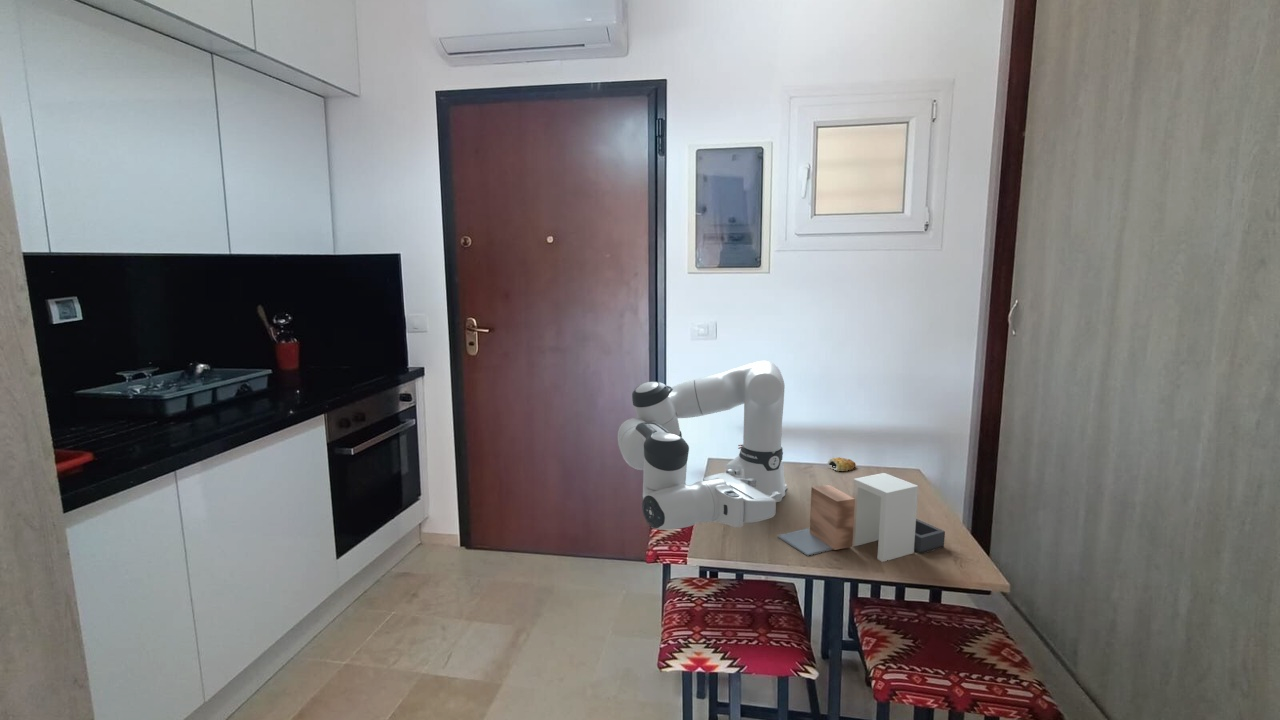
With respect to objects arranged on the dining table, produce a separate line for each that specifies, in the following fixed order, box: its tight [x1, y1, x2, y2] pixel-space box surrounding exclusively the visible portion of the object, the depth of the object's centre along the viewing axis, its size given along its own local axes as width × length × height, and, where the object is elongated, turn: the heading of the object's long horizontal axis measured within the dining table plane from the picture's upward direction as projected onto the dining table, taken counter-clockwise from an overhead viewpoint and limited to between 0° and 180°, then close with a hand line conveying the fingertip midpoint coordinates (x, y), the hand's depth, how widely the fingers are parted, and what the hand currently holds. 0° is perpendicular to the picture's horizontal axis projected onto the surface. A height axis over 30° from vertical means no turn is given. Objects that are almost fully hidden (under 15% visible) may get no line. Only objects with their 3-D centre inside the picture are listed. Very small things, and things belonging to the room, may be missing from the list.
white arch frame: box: [852, 472, 919, 563], centre depth 141 cm, size 10×10×16 cm
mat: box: [777, 527, 834, 557], centre depth 145 cm, size 11×11×1 cm
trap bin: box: [914, 518, 946, 555], centre depth 146 cm, size 12×8×4 cm, turn 25°
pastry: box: [826, 457, 857, 472], centre depth 199 cm, size 9×7×4 cm
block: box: [809, 484, 855, 551], centre depth 145 cm, size 5×10×12 cm, turn 19°
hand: (766, 489), depth 136 cm, fingers open, 8 cm apart
